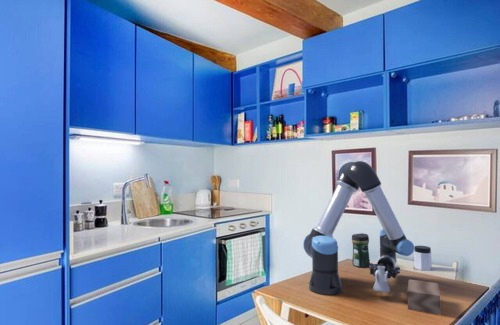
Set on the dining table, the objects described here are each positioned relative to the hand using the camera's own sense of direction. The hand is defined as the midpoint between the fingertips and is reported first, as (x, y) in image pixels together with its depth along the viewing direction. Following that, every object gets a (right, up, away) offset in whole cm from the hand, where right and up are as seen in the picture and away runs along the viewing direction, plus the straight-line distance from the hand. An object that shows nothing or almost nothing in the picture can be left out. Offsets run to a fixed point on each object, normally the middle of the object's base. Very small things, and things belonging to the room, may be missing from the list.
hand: (380, 277), depth 133 cm
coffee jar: (+10, -12, +51) cm, 53 cm away
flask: (+1, -6, +2) cm, 7 cm away
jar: (+43, -11, +44) cm, 63 cm away
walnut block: (+15, -9, -6) cm, 18 cm away
